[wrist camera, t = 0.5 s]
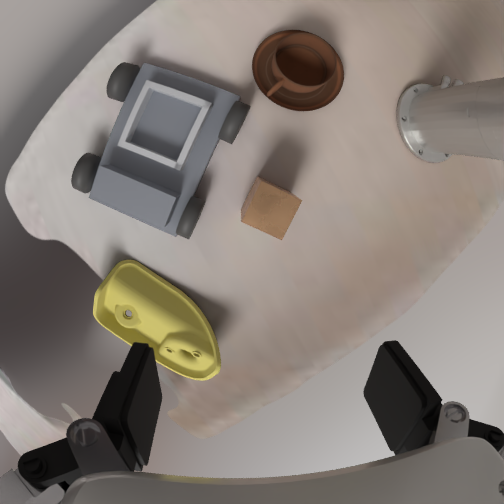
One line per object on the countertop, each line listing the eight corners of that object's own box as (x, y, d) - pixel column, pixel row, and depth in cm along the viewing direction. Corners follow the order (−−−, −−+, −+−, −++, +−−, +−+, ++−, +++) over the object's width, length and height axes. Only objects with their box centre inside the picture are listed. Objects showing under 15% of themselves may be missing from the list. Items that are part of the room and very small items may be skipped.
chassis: (136, 62, 31) (123, 51, 26) (252, 104, 34) (254, 96, 29) (84, 191, 36) (65, 197, 31) (190, 238, 39) (183, 251, 34)
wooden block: (257, 176, 37) (261, 180, 30) (290, 192, 38) (302, 200, 31) (240, 210, 38) (241, 221, 32) (274, 225, 39) (281, 240, 33)
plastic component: (92, 318, 40) (95, 287, 34) (116, 287, 46) (125, 252, 40) (198, 385, 43) (224, 369, 37) (214, 349, 49) (241, 327, 42)
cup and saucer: (319, 128, 35) (333, 123, 29) (236, 90, 33) (236, 79, 27) (350, 59, 32) (368, 46, 26) (273, 22, 30) (278, 3, 24)
